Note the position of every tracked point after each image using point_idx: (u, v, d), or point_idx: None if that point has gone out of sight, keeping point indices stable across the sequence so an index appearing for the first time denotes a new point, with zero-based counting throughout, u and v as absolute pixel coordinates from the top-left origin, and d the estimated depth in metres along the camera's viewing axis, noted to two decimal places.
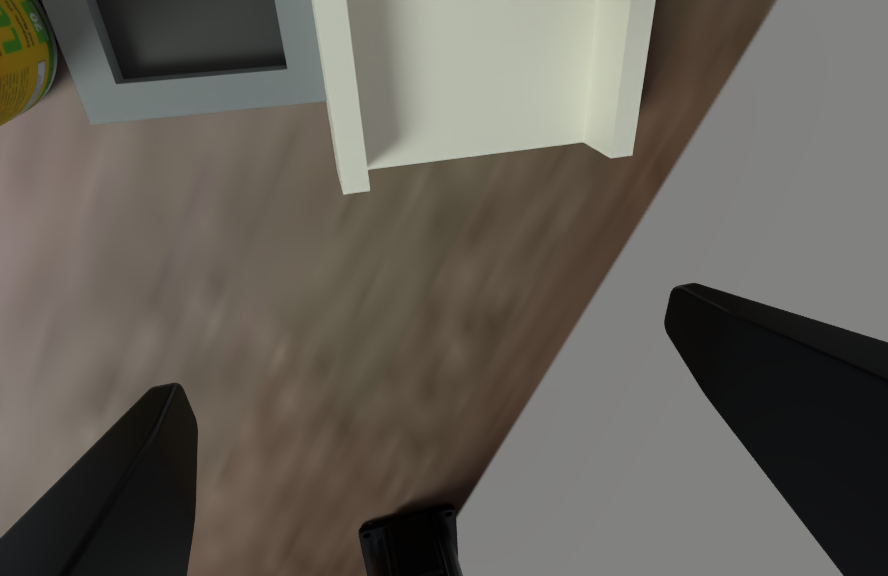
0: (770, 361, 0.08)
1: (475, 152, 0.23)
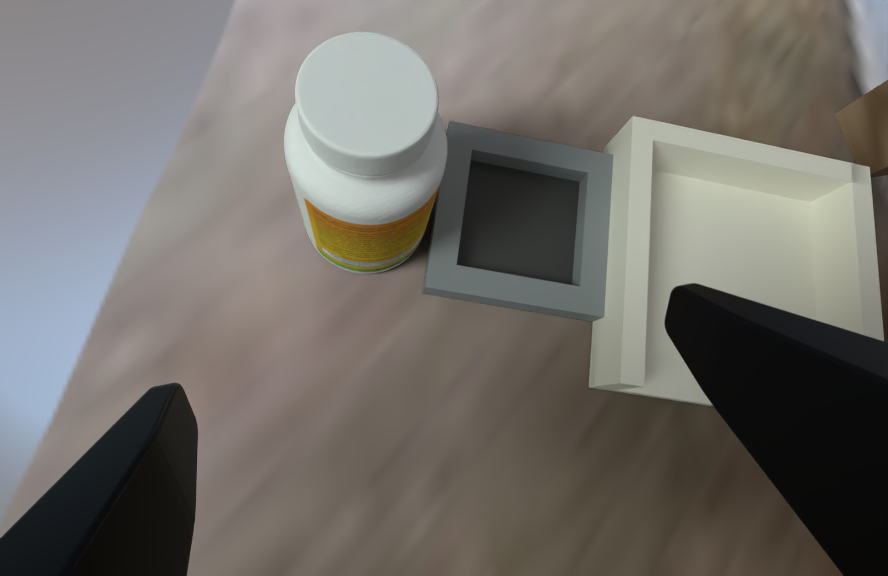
0: (770, 361, 0.08)
1: None
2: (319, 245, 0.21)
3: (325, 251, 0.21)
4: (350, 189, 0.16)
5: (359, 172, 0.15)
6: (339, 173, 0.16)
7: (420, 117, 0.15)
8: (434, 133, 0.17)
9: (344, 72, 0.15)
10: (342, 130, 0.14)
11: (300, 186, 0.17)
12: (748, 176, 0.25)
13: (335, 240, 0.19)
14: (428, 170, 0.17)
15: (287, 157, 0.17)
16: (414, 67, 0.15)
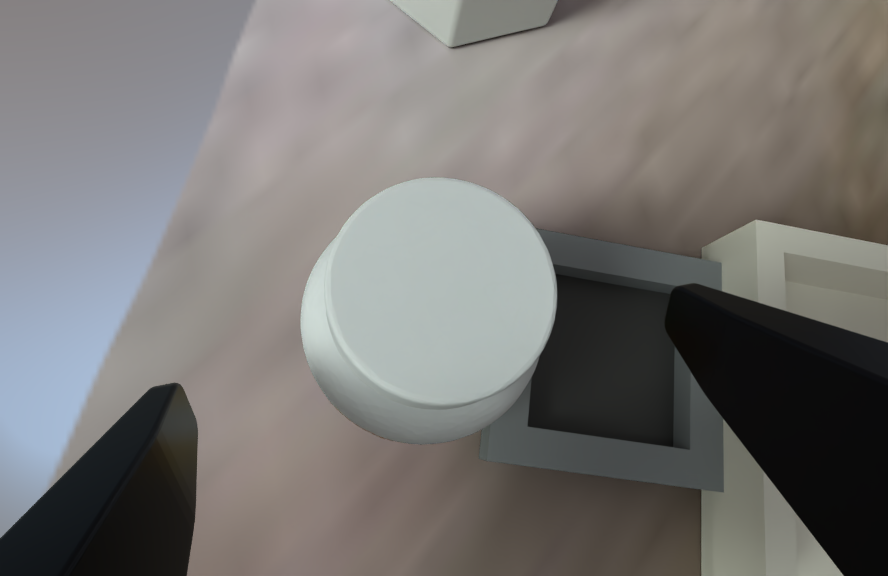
0: (770, 361, 0.08)
1: None
2: None
3: None
4: (406, 410, 0.10)
5: (428, 409, 0.09)
6: None
7: (531, 325, 0.09)
8: None
9: (405, 250, 0.09)
10: (404, 360, 0.08)
11: (326, 395, 0.11)
12: None
13: None
14: None
15: (306, 350, 0.11)
16: (516, 236, 0.09)
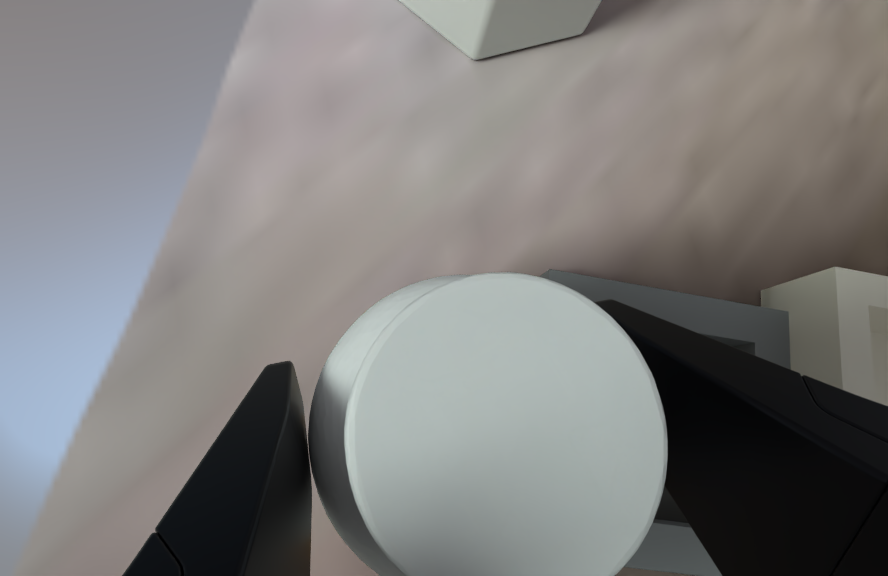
0: (671, 384, 0.08)
1: None
2: None
3: None
4: None
5: None
6: None
7: (635, 489, 0.06)
8: None
9: (458, 383, 0.06)
10: (461, 551, 0.06)
11: (342, 538, 0.08)
12: None
13: None
14: None
15: (316, 480, 0.08)
16: (609, 355, 0.07)
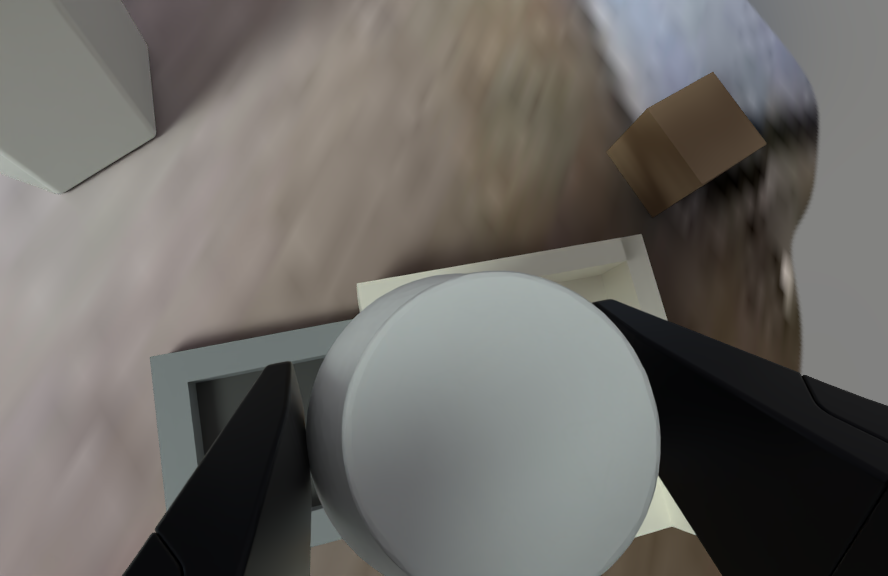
0: (671, 384, 0.08)
1: None
2: None
3: None
4: None
5: None
6: None
7: (628, 484, 0.06)
8: None
9: (454, 380, 0.06)
10: (456, 545, 0.06)
11: None
12: None
13: None
14: None
15: (313, 477, 0.08)
16: (603, 352, 0.07)
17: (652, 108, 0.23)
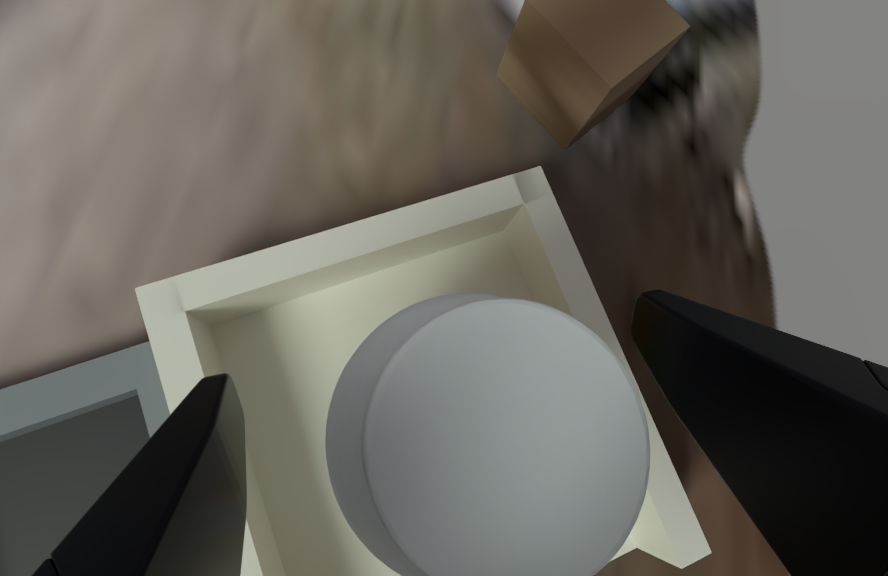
0: (728, 371, 0.08)
1: None
2: None
3: None
4: None
5: None
6: None
7: (621, 491, 0.07)
8: None
9: (463, 398, 0.07)
10: (467, 547, 0.07)
11: None
12: (387, 259, 0.16)
13: None
14: None
15: (333, 484, 0.09)
16: (598, 372, 0.07)
17: None
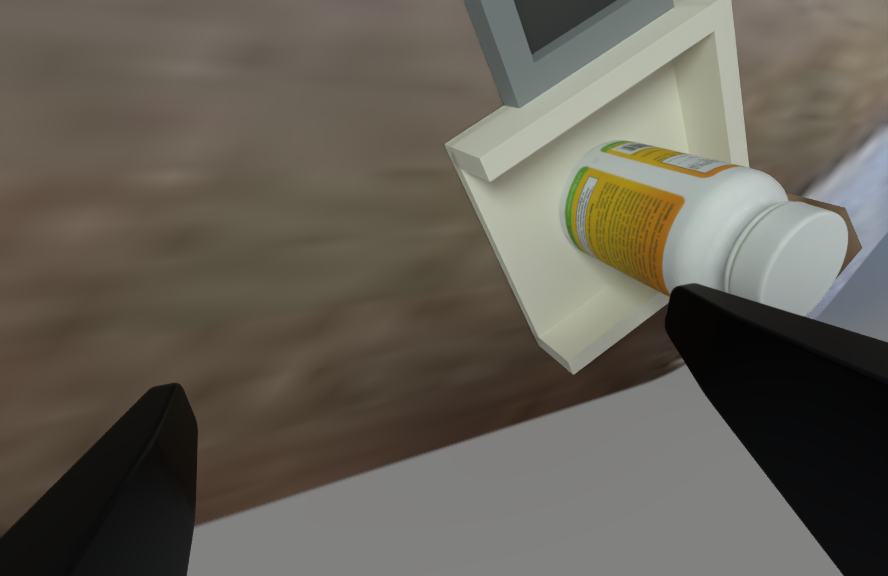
0: (770, 361, 0.08)
1: (506, 259, 0.24)
2: (597, 175, 0.22)
3: (590, 181, 0.22)
4: (706, 252, 0.18)
5: (735, 273, 0.17)
6: (721, 242, 0.17)
7: None
8: None
9: (822, 248, 0.17)
10: (782, 263, 0.16)
11: (702, 199, 0.18)
12: (706, 150, 0.25)
13: (623, 209, 0.20)
14: None
15: (727, 182, 0.17)
16: (815, 298, 0.18)
17: (844, 211, 0.28)
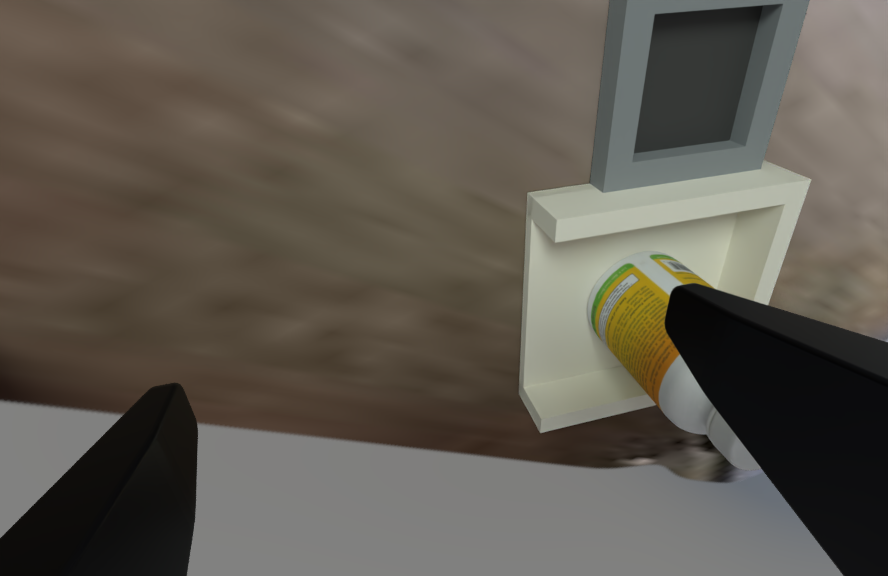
0: (770, 361, 0.08)
1: (530, 310, 0.26)
2: (638, 276, 0.24)
3: (631, 277, 0.24)
4: None
5: None
6: None
7: (744, 461, 0.19)
8: None
9: None
10: None
11: None
12: None
13: (650, 315, 0.22)
14: (688, 427, 0.21)
15: None
16: None
17: None
